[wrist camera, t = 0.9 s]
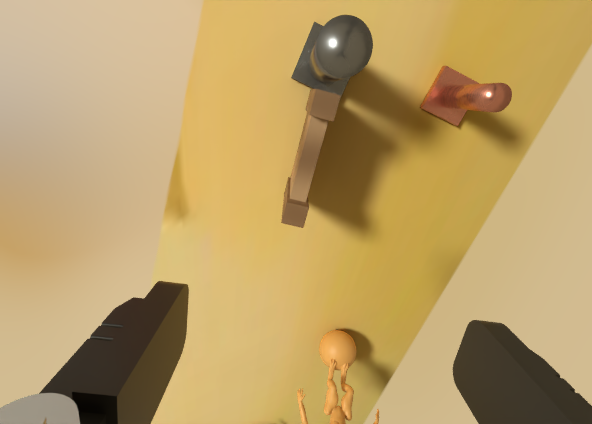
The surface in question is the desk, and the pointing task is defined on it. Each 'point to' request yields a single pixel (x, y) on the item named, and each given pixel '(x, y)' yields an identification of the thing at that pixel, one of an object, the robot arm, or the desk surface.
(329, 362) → the figurine
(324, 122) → the gate
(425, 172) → the desk surface
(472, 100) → the gate posts
